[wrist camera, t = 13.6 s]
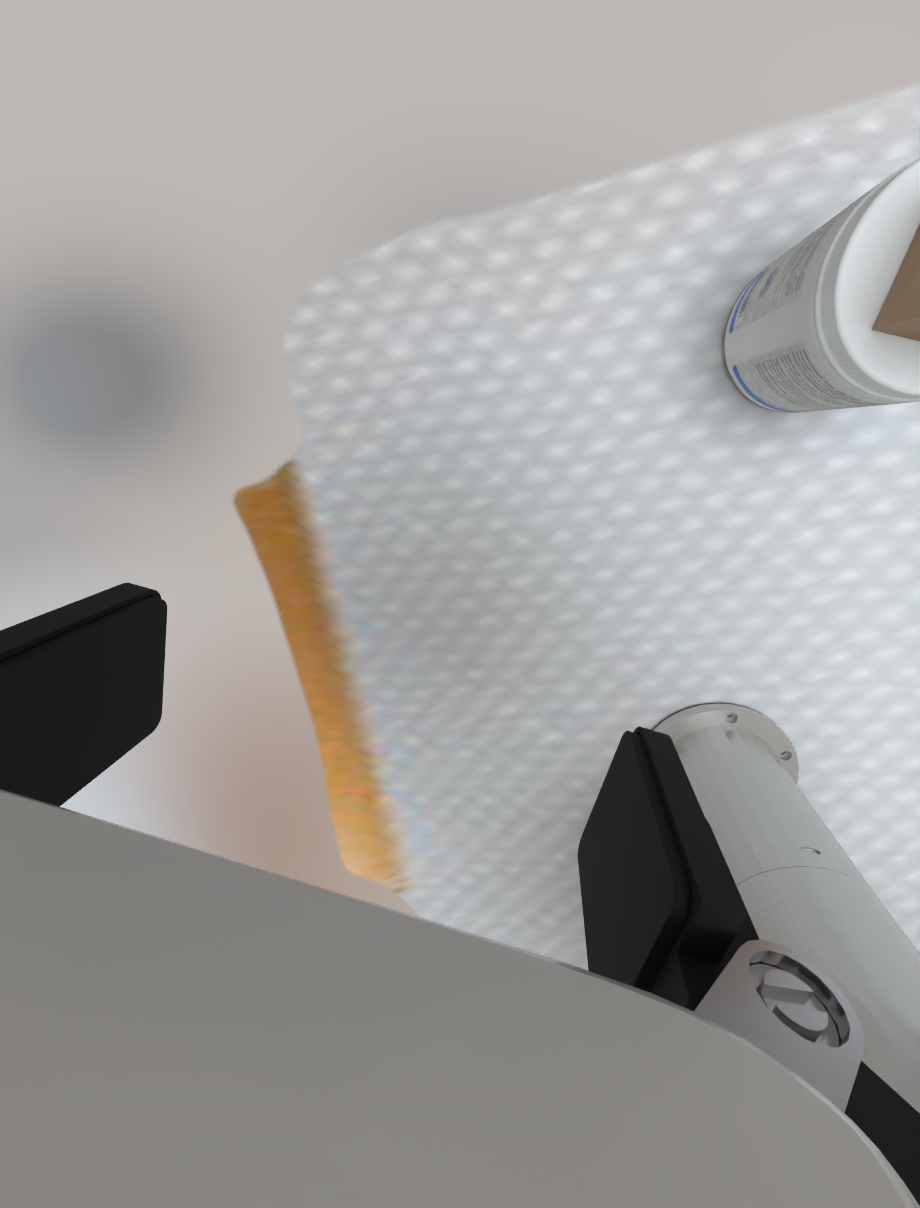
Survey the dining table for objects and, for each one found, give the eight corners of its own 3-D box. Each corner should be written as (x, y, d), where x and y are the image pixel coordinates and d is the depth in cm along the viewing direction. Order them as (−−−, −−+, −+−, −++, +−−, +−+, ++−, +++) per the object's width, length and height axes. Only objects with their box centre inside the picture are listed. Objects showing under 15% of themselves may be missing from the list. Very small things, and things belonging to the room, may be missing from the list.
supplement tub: (885, 384, 35) (1112, 357, 21) (733, 432, 37) (850, 437, 23) (868, 221, 33) (1112, 72, 19) (706, 283, 35) (818, 190, 21)
